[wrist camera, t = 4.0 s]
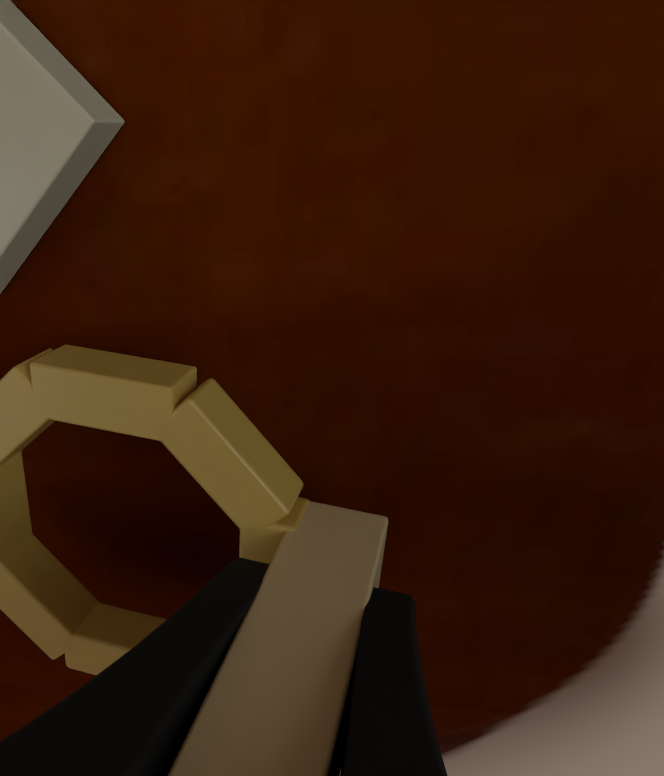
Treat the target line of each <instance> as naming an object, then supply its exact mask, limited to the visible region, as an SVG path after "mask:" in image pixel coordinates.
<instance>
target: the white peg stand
mask: <svg viewBox="0 0 664 776" xmlns="http://www.w3.org/2000/svg"><path fill="white" fill-rule="evenodd" d="M123 124H124V120H123V118H122V117H121V116H120V115H119V114H118V113H117V112H116V111H115V110H114V109H113V108H112V107H111V106H110V105H109V104H108V103H107V102H106V101H105V100H104V98H103V97H102V96H101V95H100V94H99V93H98V92H97V91H96V90H95V89H94V88H93V87H92V86H91V85H90V84H89V83H88V82H87V81H86V80H85V79H84V77H83V76H82V75H81V74H80V73H79V72H78V71H77V70H76V69H75V68H74V67H73V66H72V65H71V64H70V63H69V62H68V61H67V60H66V59H65V58H64V56H63V55H62V54H61V53H60V52H59V51H58V50H57V49H56V48H55V47H54V46H53V45H52V44H51V43H50V42H49V41H48V40H47V39H46V38H45V37H44V35H43V34H42V33H41V32H40V31H39V30H38V29H37V28H36V27H35V26H34V25H33V24H32V23H31V22H30V21H29V20H28V19H27V18H26V17H25V16H24V14H23V13H22V12H21V11H20V10H19V9H18V8H17V7H16V6H15V5H14V4H13V3H12V2H11V1H10V0H0V294H1V293H2V291H3V290H4V288H5V287H6V286H7V284H8V283H9V281H10V280H11V279H12V277H13V276H14V275H15V273H16V272H17V270H18V269H19V268H20V266H21V265H22V263H23V262H24V261H25V259H26V258H27V257H28V255H29V254H30V252H31V251H32V250H33V248H34V247H35V246H36V244H37V243H38V241H39V240H40V239H41V237H42V236H43V234H44V233H45V232H46V230H47V229H48V228H49V226H50V225H51V223H52V222H53V221H54V219H55V218H56V217H57V215H58V214H59V212H60V211H61V210H62V208H63V207H64V205H65V204H66V203H67V201H68V200H69V199H70V197H71V196H72V194H73V193H74V192H75V190H76V189H77V187H78V186H79V185H80V183H81V182H82V181H83V179H84V178H85V176H86V175H87V174H88V172H89V171H90V170H91V168H92V167H93V165H94V164H95V163H96V161H97V160H98V158H99V157H100V156H101V154H102V153H103V152H104V150H105V149H106V147H107V146H108V145H109V143H110V142H111V141H112V139H113V138H114V136H115V135H116V134H117V132H118V131H119V129H120V128H121V127H122V125H123Z"/></svg>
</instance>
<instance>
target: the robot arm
mask: <svg viewBox="0 0 664 776" xmlns="http://www.w3.org/2000/svg"><path fill="white" fill-rule="evenodd" d="M269 565H270V564H267V563H263V562H258V561H254V560H249V559H245V558H240V557H238V558H236V559H234V560H233V561H231V562H230V563H229V564H228V565H227V566H226V567H225V568H224V569H223V570H222V571H221V572H220V573H218V574H217V575H216V576H215V577H214V578H213V579H212V580H211V581H210V582H209V583H208V584H207V585H205V586H204V587H203V588H202V589H201V590H200V591H199V592H198V593H197V594H196V595H194V596H193V597H192V598H191V599H190V600H189V601H188V602H186V603H185V604H184V605H183V606H182V607H181V608H180V609H179V610H177V611H176V612H175V613H174V614H173V615H172V616H170V617H169V618H168V619H167V620H166V621H164V622H163V623H162V624H161V625H160V626H158V627H157V628H156V629H155V630H154V631H152V632H151V633H150V634H149V635H148V636H146V637H145V638H144V639H143V640H142V641H140V642H139V643H138V644H137V645H136V646H134V647H133V648H132V649H131V650H129V651H128V652H127V653H125V654H124V655H123V656H121V657H120V658H119V659H117V660H116V661H115V662H114V663H112V664H111V665H110V666H108V667H107V668H106V669H104V670H103V671H102V672H100V673H99V674H98V675H96V676H95V677H94V678H92V679H91V680H90V681H88V682H87V683H86V684H84V685H83V686H82V687H80V688H79V689H78V690H76V691H75V692H73V693H72V694H71V695H69V696H68V697H66V698H65V699H63V700H62V701H61V702H59V703H58V704H56V705H55V706H53V707H52V708H50V709H49V710H47V711H46V712H45V713H43V714H42V715H40V716H39V717H37V718H35V719H34V720H32V721H31V722H29V723H28V724H26V725H25V726H23V727H22V728H20V729H19V730H17V731H16V732H14V733H12V734H11V735H9V736H8V737H6V738H5V739H3V740H1V741H0V776H167V775H168V773H169V771H170V769H171V767H172V765H173V763H174V761H175V759H176V757H177V755H178V753H179V751H180V749H181V746H182V744H183V742H184V740H185V738H186V736H187V734H188V732H189V730H190V728H191V726H192V724H193V722H194V720H195V718H196V716H197V713H198V711H199V709H200V707H201V705H202V703H203V701H204V699H205V697H206V695H207V693H208V691H209V689H210V687H211V685H212V682H213V680H214V678H215V676H216V674H217V672H218V670H219V668H220V666H221V664H222V662H223V660H224V658H225V656H226V654H227V652H228V649H229V647H230V645H231V643H232V641H233V639H234V637H235V635H236V633H237V631H238V629H239V627H240V625H241V623H242V621H243V619H244V617H245V615H246V613H247V611H248V609H249V607H250V605H251V604H252V602H253V600H254V598H255V596H256V594H257V592H258V590H259V588H260V586H261V583H262V580H263V578H264V575H265V573H266V571H267V569H268V567H269ZM340 776H447V773H446V769H445V766H444V763H443V759H442V756H441V752H440V748H439V744H438V740H437V737H436V733H435V729H434V724H433V720H432V716H431V711H430V707H429V703H428V698H427V694H426V689H425V684H424V679H423V674H422V668H421V662H420V655H419V649H418V641H417V631H416V602H415V601H414V600H413V598H412V597H411V596H410V595H407V594H402V593H398V592H393V591H389V590H384V589H380V588H375V587H373V590H372V593H371V597H370V600H369V601H368V603H367V605H366V606H365V610H364V614H363V617H362V621H361V629H360V637H359V646H358V653H357V660H356V667H355V674H354V682H353V689H352V696H351V703H350V710H349V717H348V724H347V731H346V738H345V746H344V753H343V760H342V766H341V774H340Z"/></svg>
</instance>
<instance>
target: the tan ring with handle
mask: <svg viewBox="0 0 664 776" xmlns="http://www.w3.org/2000/svg"><path fill="white" fill-rule="evenodd" d="M54 421H60V422H65V423H71V424H76V425H81V426H86V427H91V428H96V429H101V430H107V431H112V432H117V433H122V434H127V435H132V436H137V437H143V438H148V439H153V440H158V441H161V442H162V443H163V444H164V445H165V447H166V448H167V449H168V450H169V451H170V452H171V453H172V454H173V455H174V457H175V458H176V459H177V460H178V461H179V462H180V463H181V464H182V465H183V467H184V468H185V469H186V470H187V471H188V472H189V473H190V474H191V475H192V477H193V478H194V479H195V480H196V481H197V482H198V483H199V484H200V485H201V486H202V488H203V489H204V490H205V491H206V492H207V493H208V494H209V495H210V496H211V498H212V499H213V500H214V501H215V502H216V503H217V504H218V505H219V506H220V508H221V509H222V510H223V511H224V512H225V513H226V514H227V515H228V516H229V518H230V519H231V520H232V521H233V522H234V523H235V524H236V525H237V526H238V527H239V529H240V547H239V557H240V558H245V559H249V560H254V561H258V562H263V563H267V564H270V565H269V567H268V569H267V571H266V573H265V575H264V578H263V580H262V583H261V586H260V588H259V590H258V592H257V594H256V596H255V598H254V600H253V602H252V604H251V605H250V607H249V609H248V611H247V613H246V615H245V617H244V619H243V621H242V623H241V625H240V627H239V629H238V631H237V633H236V635H235V637H234V639H233V641H232V643H231V645H230V647H229V649H228V652H227V654H226V656H225V658H224V660H223V662H222V664H221V666H220V668H219V670H218V672H217V674H216V676H215V678H214V680H213V682H212V685H211V687H210V689H209V691H208V693H207V695H206V697H205V699H204V701H203V703H202V705H201V707H200V709H199V711H198V713H197V716H196V718H195V720H194V722H193V724H192V726H191V728H190V730H189V732H188V734H187V736H186V738H185V740H184V742H183V744H182V746H181V749H180V751H179V753H178V755H177V757H176V759H175V761H174V763H173V765H172V767H171V769H170V771H169V773H168V775H167V776H339V775H340V770H341V766H342V760H343V753H344V746H345V738H346V731H347V724H348V717H349V710H350V703H351V696H352V689H353V682H354V674H355V667H356V660H357V653H358V646H359V637H360V629H361V621H362V617H363V614H364V610H365V606H366V605H367V603H368V601H369V600H370V597H371V593H372V590H373V587H375V588H378V587H379V580H380V574H381V567H382V560H383V554H384V547H385V540H386V534H387V527H388V518H387V517H385V516H381V515H376V514H371V513H366V512H362V511H357V510H352V509H347V508H342V507H337V506H332V505H327V504H322V503H317V502H312V501H309V500H308V499H306V498H302V497H298V495H299V493H300V491H301V489H302V487H303V482H302V480H301V479H300V478H299V477H298V476H297V475H296V473H295V472H294V471H293V470H292V469H291V468H290V466H289V465H288V464H287V463H286V462H285V461H284V459H283V458H282V457H281V456H280V455H279V454H278V453H277V451H276V450H275V449H274V448H273V447H272V446H271V444H270V443H269V442H268V441H267V440H266V439H265V437H264V436H263V435H262V434H261V433H260V432H259V431H258V429H257V428H256V427H255V426H254V425H253V424H252V422H251V421H250V420H249V419H248V418H247V417H246V415H245V414H244V413H243V412H242V411H241V410H240V408H239V407H238V406H237V405H236V404H235V403H234V402H233V400H232V399H231V398H230V397H229V396H228V395H227V393H226V392H225V391H224V390H223V389H222V388H221V386H220V385H219V384H218V383H217V382H216V381H215V380H214V379H207V380H206V381H205V382H203V383H202V384H201V385H200V386H198V387H197V368H196V367H194V366H189V365H183V364H177V363H171V362H165V361H159V360H154V359H148V358H142V357H136V356H130V355H124V354H119V353H113V352H107V351H101V350H95V349H89V348H84V347H78V346H72V345H63V346H61V347H59V348H57V349H55V350H53V349H47V350H45V351H44V352H42V353H40V354H38V355H36V356H34V357H32V358H30V359H28V360H26V361H24V362H22V363H20V364H18V365H16V366H14V367H13V368H12V369H11V370H10V371H9V372H8V373H7V374H6V375H5V376H4V377H3V378H2V379H1V380H0V609H1V610H2V611H3V612H4V613H5V614H6V615H7V616H8V617H9V618H10V619H11V620H12V621H13V622H14V623H15V624H16V625H17V626H18V627H19V628H20V629H21V630H22V631H23V632H24V633H25V634H26V635H27V636H28V637H29V638H30V639H32V640H33V641H34V642H35V643H36V644H37V645H38V646H39V647H40V648H41V649H42V650H43V651H44V652H45V653H46V654H47V655H48V656H49V657H50V658H51V659H53V660H54V659H56V658H58V657H59V656H61V655H62V654H64V653H65V659H66V665H67V667H69V668H71V669H75V670H79V671H82V672H86V673H90V674H94V675H98V674H99V673H100V672H102V671H103V670H104V669H106V668H107V667H108V666H110V665H111V664H112V663H114V662H115V661H116V660H117V659H119V658H120V657H121V656H123V655H124V654H125V653H127V652H128V651H129V650H131V649H132V648H133V647H134V646H136V645H137V644H138V643H139V642H140V641H142V640H143V639H144V638H145V637H146V636H148V635H149V634H150V633H151V632H152V631H154V630H155V629H156V628H157V627H158V626H160V625H161V624H162V623H163V622H164V621H166V620H167V619H165V618H161V617H157V616H152V615H148V614H144V613H140V612H136V611H132V610H128V609H124V608H120V607H116V606H112V605H108V604H104V603H100V602H99V601H98V600H97V599H96V598H95V597H94V596H93V595H92V594H91V593H90V592H89V591H88V590H87V589H86V588H85V587H84V586H83V585H82V584H81V583H80V582H79V581H78V580H77V579H76V578H75V577H74V576H73V575H72V574H71V573H70V572H69V571H68V570H67V569H66V568H65V567H64V566H63V565H62V564H61V563H60V562H59V561H58V559H57V558H56V557H55V556H54V555H53V554H52V553H51V552H50V551H49V550H48V549H47V548H46V547H45V546H44V545H43V544H42V543H41V542H40V541H39V540H38V539H37V538H36V537H35V536H34V535H33V534H32V526H31V519H30V512H29V504H28V497H27V489H26V482H25V474H24V467H23V460H22V452H21V451H22V450H23V449H24V448H25V447H26V446H27V445H28V444H30V443H31V442H32V441H33V440H34V439H35V438H36V437H37V436H39V435H40V434H41V433H42V432H43V431H44V430H45V429H46V428H48V427H49V426H50V425H51V424H52V423H53V422H54Z"/></svg>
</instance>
